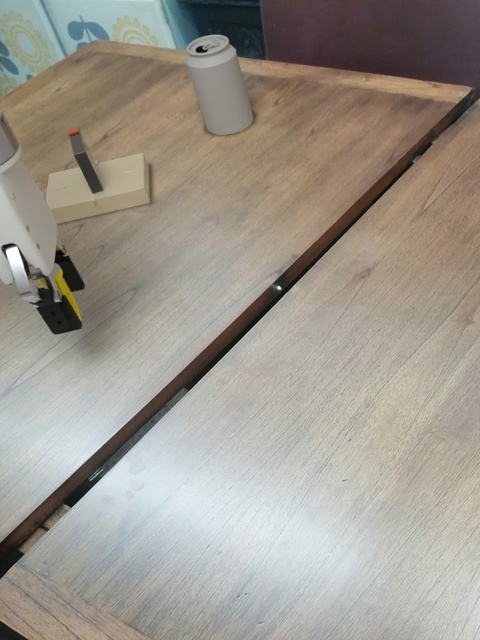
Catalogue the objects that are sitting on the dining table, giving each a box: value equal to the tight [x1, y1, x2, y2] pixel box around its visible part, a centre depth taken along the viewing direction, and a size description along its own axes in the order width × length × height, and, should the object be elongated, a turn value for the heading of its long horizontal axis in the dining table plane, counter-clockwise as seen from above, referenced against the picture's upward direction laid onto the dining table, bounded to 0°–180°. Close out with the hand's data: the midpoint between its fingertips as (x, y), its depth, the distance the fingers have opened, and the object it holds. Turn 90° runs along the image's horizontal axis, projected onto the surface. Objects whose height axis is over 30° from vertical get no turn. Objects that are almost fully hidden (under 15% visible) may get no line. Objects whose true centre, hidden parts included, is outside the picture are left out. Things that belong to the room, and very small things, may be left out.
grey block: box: [67, 127, 103, 193], centre depth 96 cm, size 7×2×6 cm, turn 22°
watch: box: [34, 263, 83, 321], centre depth 74 cm, size 6×3×6 cm, turn 25°
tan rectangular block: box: [45, 152, 151, 225], centre depth 99 cm, size 14×11×3 cm
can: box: [185, 34, 254, 136], centre depth 104 cm, size 8×8×12 cm
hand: (69, 308), depth 75 cm, fingers closed on watch, 6 cm apart
